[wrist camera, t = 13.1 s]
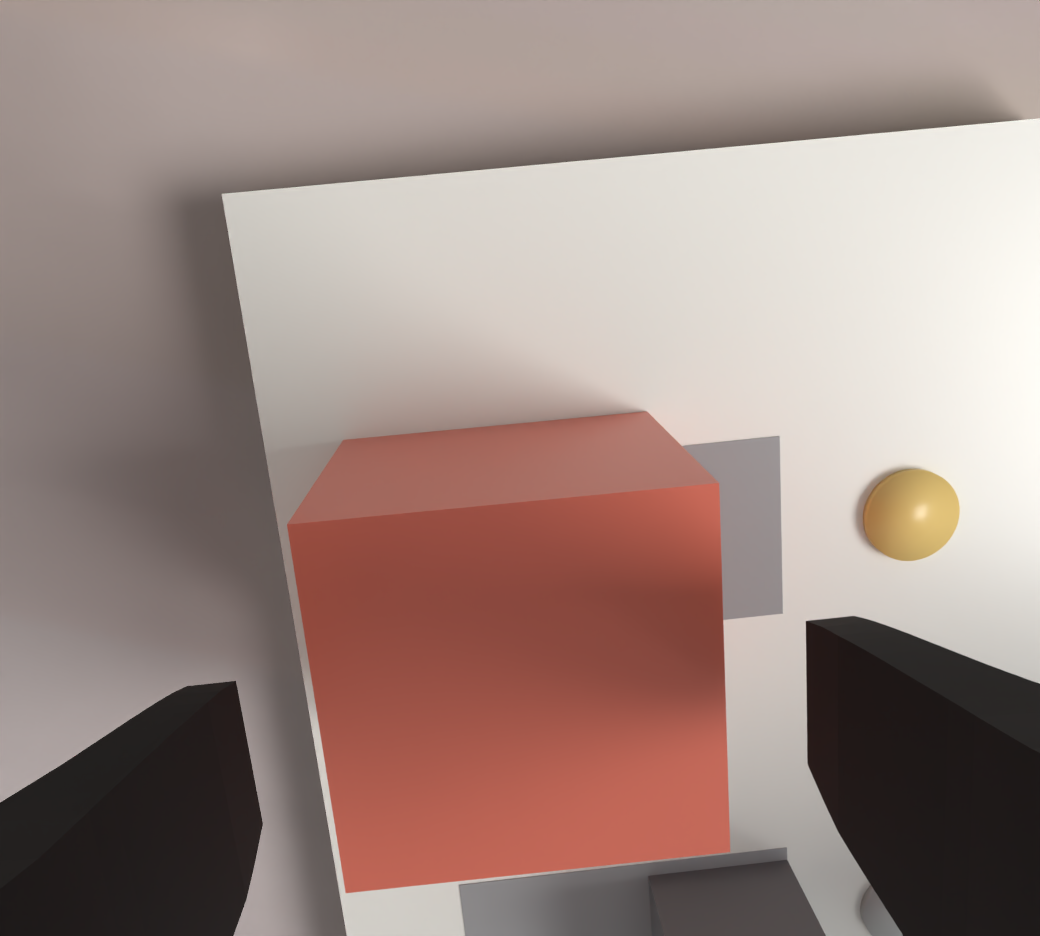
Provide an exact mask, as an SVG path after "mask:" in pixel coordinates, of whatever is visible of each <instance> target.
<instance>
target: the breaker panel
mask: <svg viewBox="0 0 1040 936" xmlns="http://www.w3.org/2000/svg"><path fill="white" fill-rule="evenodd" d="M222 199H223V205H224V211H225V217H226V223H227V229H228V235H229V241H230V247H231V252H232V258H233V264H234V270H235V276H236V282H237V288H238V294H239V300H240V306H241V312H242V318H243V324H244V330H245V335H246V341H247V347H248V353H249V359H250V365H251V371H252V377H253V383H254V389H255V395H256V401H257V407H258V413H259V418H260V424H261V430H262V436H263V442H264V448H265V454H266V460H267V466H268V472H269V478H270V484H271V490H272V496H273V502H274V507H275V513H276V519H277V525H278V531H279V537H280V543H281V549H282V555H283V561H284V567H285V573H286V579H287V585H288V590H289V596H290V602H291V608H292V614H293V620H294V626H295V632H296V638H297V644H298V650H299V656H300V662H301V668H302V674H303V679H304V685H305V691H306V697H307V703H308V709H309V715H310V721H311V727H312V733H313V739H314V745H315V751H316V757H317V762H318V768H319V774H320V780H321V786H322V792H323V798H324V804H325V810H326V816H327V822H328V828H329V834H330V840H331V845H332V851H333V857H334V863H335V869H336V875H337V881H338V887H339V893H340V899H341V905H342V911H343V917H344V923H345V929H346V934H347V936H903V935H902V933H901V931H900V930H899V928H898V927H897V925H896V924H895V922H894V920H893V919H892V917H891V916H890V914H889V913H888V911H887V909H886V908H885V906H884V905H883V903H882V902H881V900H880V899H879V897H878V895H877V894H876V892H875V891H874V889H873V888H872V886H871V884H870V883H869V881H868V880H867V878H866V876H865V875H864V873H863V872H862V870H861V868H860V867H859V865H858V864H857V862H856V860H855V859H854V857H853V856H852V854H851V852H850V851H849V849H848V848H847V846H846V844H845V843H844V841H843V839H842V838H841V836H840V834H839V833H838V831H837V829H836V826H835V824H834V822H833V820H832V818H831V816H830V814H829V812H828V809H827V807H826V805H825V803H824V801H823V799H822V796H821V794H820V792H819V789H818V787H817V785H816V783H815V780H814V778H813V776H812V773H811V771H810V769H809V766H808V764H807V682H806V621H810V620H819V619H829V618H838V617H848V616H856V617H861V618H865V619H868V620H872V621H875V622H878V623H881V624H884V625H887V626H889V627H892V628H895V629H898V630H900V631H903V632H906V633H908V634H911V635H913V636H916V637H918V638H921V639H924V640H926V641H929V642H931V643H934V644H936V645H939V646H941V647H944V648H946V649H949V650H951V651H954V652H957V653H959V654H962V655H964V656H967V657H969V658H972V659H974V660H977V661H980V662H982V663H985V664H987V665H990V666H993V667H995V668H998V669H1001V670H1003V671H1006V672H1009V673H1012V674H1014V675H1017V676H1020V677H1023V678H1025V679H1028V680H1031V681H1034V682H1037V683H1040V118H1039V119H1028V120H1017V121H1006V122H996V123H985V124H974V125H963V126H952V127H941V128H930V129H920V130H909V131H898V132H887V133H876V134H865V135H855V136H844V137H833V138H822V139H811V140H800V141H790V142H779V143H768V144H757V145H746V146H735V147H724V148H714V149H703V150H692V151H681V152H670V153H659V154H649V155H638V156H627V157H616V158H605V159H594V160H584V161H573V162H562V163H551V164H540V165H529V166H518V167H508V168H497V169H486V170H475V171H464V172H453V173H443V174H432V175H421V176H410V177H399V178H388V179H378V180H367V181H356V182H345V183H334V184H323V185H312V186H302V187H291V188H280V189H269V190H258V191H247V192H237V193H226V194H222ZM645 411H647V412H648V413H649V414H650V415H651V416H652V417H653V418H654V419H655V420H656V421H657V422H658V423H659V424H660V425H661V426H662V427H663V428H664V429H665V430H666V431H667V432H668V433H669V434H670V435H671V436H672V437H673V438H674V439H675V440H676V441H677V442H678V443H679V444H680V445H681V446H683V447H684V448H685V449H686V450H687V451H688V452H689V453H690V454H691V455H692V456H693V457H694V458H695V459H696V460H697V461H698V462H699V463H700V464H701V465H702V466H703V467H704V468H705V469H706V470H707V471H708V472H709V473H710V474H711V475H712V476H713V477H714V478H715V479H716V480H717V481H718V482H719V492H720V525H721V559H722V592H723V625H724V658H725V692H726V725H727V758H728V792H729V825H730V852H727V853H718V854H709V855H699V856H690V857H681V858H671V859H662V860H652V861H643V862H634V863H624V864H615V865H606V866H596V867H587V868H578V869H568V870H559V871H550V872H540V873H531V874H521V875H512V876H503V877H493V878H484V879H475V880H465V881H456V882H447V883H437V884H428V885H419V886H409V887H400V888H390V889H381V890H372V891H362V892H353V893H346V892H345V886H344V880H343V873H342V867H341V861H340V855H339V848H338V842H337V836H336V830H335V823H334V817H333V811H332V805H331V798H330V792H329V786H328V779H327V773H326V767H325V761H324V754H323V748H322V742H321V736H320V729H319V723H318V717H317V711H316V704H315V698H314V692H313V685H312V679H311V673H310V667H309V660H308V654H307V648H306V642H305V635H304V629H303V623H302V617H301V610H300V604H299V598H298V591H297V585H296V579H295V573H294V566H293V560H292V554H291V548H290V541H289V535H288V529H287V524H288V522H289V521H290V519H291V518H292V516H293V515H294V513H295V512H296V510H297V509H298V507H299V506H300V504H301V503H302V501H303V500H304V498H305V497H306V495H307V494H308V492H309V491H310V489H311V487H312V486H313V484H314V483H315V481H316V480H317V478H318V477H319V475H320V474H321V472H322V471H323V469H324V468H325V466H326V465H327V463H328V462H329V460H330V459H331V457H332V456H333V454H334V453H335V451H336V450H337V448H338V447H339V445H340V444H341V442H342V441H343V440H347V439H358V438H368V437H379V436H390V435H400V434H411V433H422V432H432V431H443V430H454V429H464V428H475V427H486V426H496V425H507V424H518V423H528V422H539V421H549V420H560V419H571V418H581V417H592V416H603V415H613V414H624V413H635V412H645Z"/></svg>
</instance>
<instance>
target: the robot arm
mask: <svg viewBox="0 0 1040 936" xmlns="http://www.w3.org/2000/svg"><path fill="white" fill-rule="evenodd" d="M806 682H807V764H808V766H809V769H810V771H811V773H812V776H813V778H814V780H815V783H816V785H817V787H818V789H819V792H820V794H821V796H822V799H823V801H824V803H825V805H826V807H827V809H828V812H829V814H830V816H831V818H832V820H833V822H834V824H835V826H836V829H837V831H838V833H839V834H840V836H841V838H842V839H843V841H844V843H845V844H846V846H847V848H848V849H849V851H850V852H851V854H852V856H853V857H854V859H855V860H856V862H857V864H858V865H859V867H860V868H861V870H862V872H863V873H864V875H865V876H866V878H867V880H868V881H869V883H870V884H871V886H872V888H873V889H874V891H875V892H876V894H877V895H878V897H879V899H880V900H881V902H882V903H883V905H884V906H885V908H886V909H887V911H888V913H889V914H890V916H891V917H892V919H893V920H894V922H895V924H896V925H897V927H898V928H899V930H900V931H901V933H902V935H903V936H1040V683H1037V682H1034V681H1031V680H1028V679H1025V678H1023V677H1020V676H1017V675H1014V674H1012V673H1009V672H1006V671H1003V670H1001V669H998V668H995V667H993V666H990V665H987V664H985V663H982V662H980V661H977V660H974V659H972V658H969V657H967V656H964V655H962V654H959V653H957V652H954V651H951V650H949V649H946V648H944V647H941V646H939V645H936V644H934V643H931V642H929V641H926V640H924V639H921V638H918V637H916V636H913V635H911V634H908V633H906V632H903V631H900V630H898V629H895V628H892V627H889V626H887V625H884V624H881V623H878V622H875V621H872V620H868V619H865V618H861V617H856V616H848V617H838V618H829V619H819V620H810V621H806ZM262 825H263V823H262V817H261V812H260V807H259V802H258V796H257V791H256V786H255V780H254V775H253V770H252V764H251V759H250V754H249V749H248V743H247V738H246V733H245V727H244V722H243V717H242V712H241V706H240V701H239V696H238V690H237V685H236V681H232V682H223V683H213V684H204V685H194V686H187V687H184V688H182V689H180V690H178V691H176V692H174V693H172V694H170V695H169V696H167V697H165V698H163V699H162V700H160V701H158V702H157V703H155V704H154V705H152V706H150V707H149V708H147V709H146V710H144V711H143V712H141V713H140V714H138V715H136V716H135V717H133V718H132V719H130V720H129V721H127V722H126V723H124V724H123V725H121V726H120V727H118V728H117V729H115V730H114V731H112V732H111V733H109V734H108V735H106V736H105V737H103V738H102V739H100V740H99V741H97V742H96V743H94V744H93V745H91V746H90V747H88V748H87V749H85V750H83V751H82V752H80V753H79V754H77V755H76V756H74V757H73V758H71V759H70V760H68V761H67V762H65V763H64V764H62V765H61V766H59V767H57V768H56V769H54V770H53V771H51V772H49V773H48V774H46V775H44V776H43V777H41V778H40V779H38V780H36V781H35V782H33V783H31V784H30V785H28V786H27V787H25V788H23V789H22V790H20V791H18V792H17V793H15V794H14V795H12V796H10V797H9V798H7V799H5V800H4V801H2V802H1V803H0V936H233V935H234V932H235V929H236V927H237V924H238V921H239V918H240V916H241V913H242V910H243V907H244V904H245V901H246V898H247V894H248V890H249V885H250V881H251V877H252V873H253V868H254V864H255V859H256V854H257V849H258V844H259V840H260V835H261V830H262Z"/></svg>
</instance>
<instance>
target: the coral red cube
mask: <svg viewBox="0 0 1040 936" xmlns="http://www.w3.org/2000/svg"><path fill="white" fill-rule="evenodd" d="M287 529H288V535H289V541H290V548H291V554H292V560H293V566H294V573H295V579H296V585H297V591H298V598H299V604H300V610H301V617H302V623H303V629H304V635H305V642H306V648H307V654H308V660H309V667H310V673H311V679H312V685H313V692H314V698H315V704H316V711H317V717H318V723H319V729H320V736H321V742H322V748H323V754H324V761H325V767H326V773H327V779H328V786H329V792H330V798H331V805H332V811H333V817H334V823H335V830H336V836H337V842H338V848H339V855H340V861H341V867H342V873H343V880H344V886H345V892H346V893H353V892H362V891H372V890H381V889H390V888H400V887H409V886H419V885H428V884H437V883H447V882H456V881H465V880H475V879H484V878H493V877H503V876H512V875H521V874H531V873H540V872H550V871H559V870H568V869H578V868H587V867H596V866H606V865H615V864H624V863H634V862H643V861H652V860H662V859H671V858H681V857H690V856H699V855H709V854H718V853H727V852H730V825H729V792H728V758H727V725H726V692H725V658H724V625H723V592H722V559H721V525H720V492H719V482H718V481H717V480H716V479H715V478H714V477H713V476H712V475H711V474H710V473H709V472H708V471H707V470H706V469H705V468H704V467H703V466H702V465H701V464H700V463H699V462H698V461H697V460H696V459H695V458H694V457H693V456H692V455H691V454H690V453H689V452H688V451H687V450H686V449H685V448H684V447H683V446H681V445H680V444H679V443H678V442H677V441H676V440H675V439H674V438H673V437H672V436H671V435H670V434H669V433H668V432H667V431H666V430H665V429H664V428H663V427H662V426H661V425H660V424H659V423H658V422H657V421H656V420H655V419H654V418H653V417H652V416H651V415H650V414H649V413H648V412H647V411H645V412H635V413H624V414H613V415H603V416H592V417H581V418H571V419H560V420H549V421H539V422H528V423H518V424H507V425H496V426H486V427H475V428H464V429H454V430H443V431H432V432H422V433H411V434H400V435H390V436H379V437H368V438H358V439H347V440H343V441H342V442H341V444H340V445H339V447H338V448H337V450H336V451H335V453H334V454H333V456H332V457H331V459H330V460H329V462H328V463H327V465H326V466H325V468H324V469H323V471H322V472H321V474H320V475H319V477H318V478H317V480H316V481H315V483H314V484H313V486H312V487H311V489H310V491H309V492H308V494H307V495H306V497H305V498H304V500H303V501H302V503H301V504H300V506H299V507H298V509H297V510H296V512H295V513H294V515H293V516H292V518H291V519H290V521H289V522H288V524H287Z"/></svg>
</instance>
